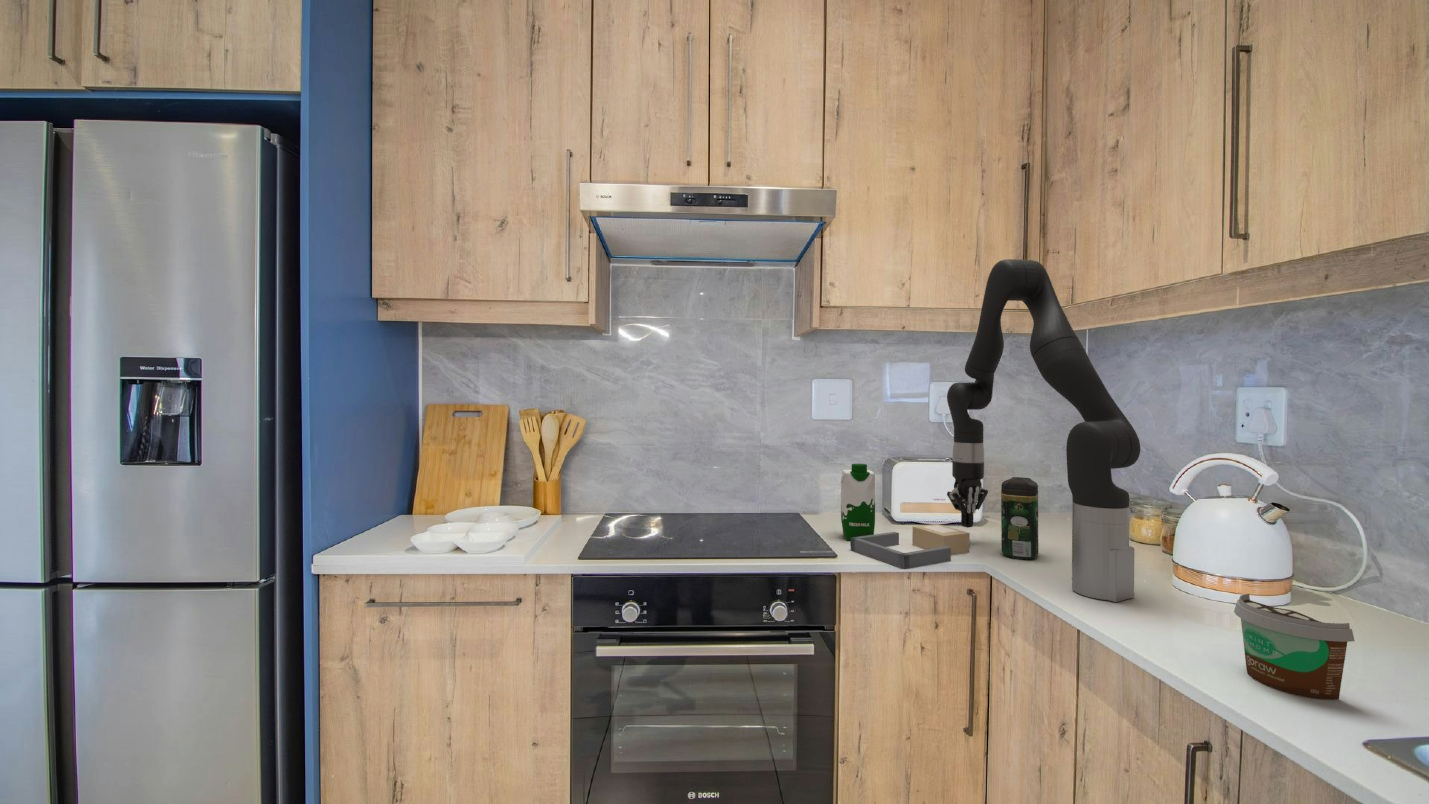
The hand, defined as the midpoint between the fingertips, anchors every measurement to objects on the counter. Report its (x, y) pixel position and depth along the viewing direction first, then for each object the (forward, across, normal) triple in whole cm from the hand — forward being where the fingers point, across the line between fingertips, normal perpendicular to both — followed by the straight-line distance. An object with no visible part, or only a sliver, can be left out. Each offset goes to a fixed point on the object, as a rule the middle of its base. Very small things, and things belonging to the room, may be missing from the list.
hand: (967, 526), depth 152 cm
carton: (+5, -10, 0) cm, 11 cm away
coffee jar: (+4, +2, -13) cm, 14 cm away
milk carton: (+5, -21, +18) cm, 28 cm away
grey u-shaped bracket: (+4, -23, 0) cm, 23 cm away
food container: (+4, -25, -70) cm, 75 cm away
